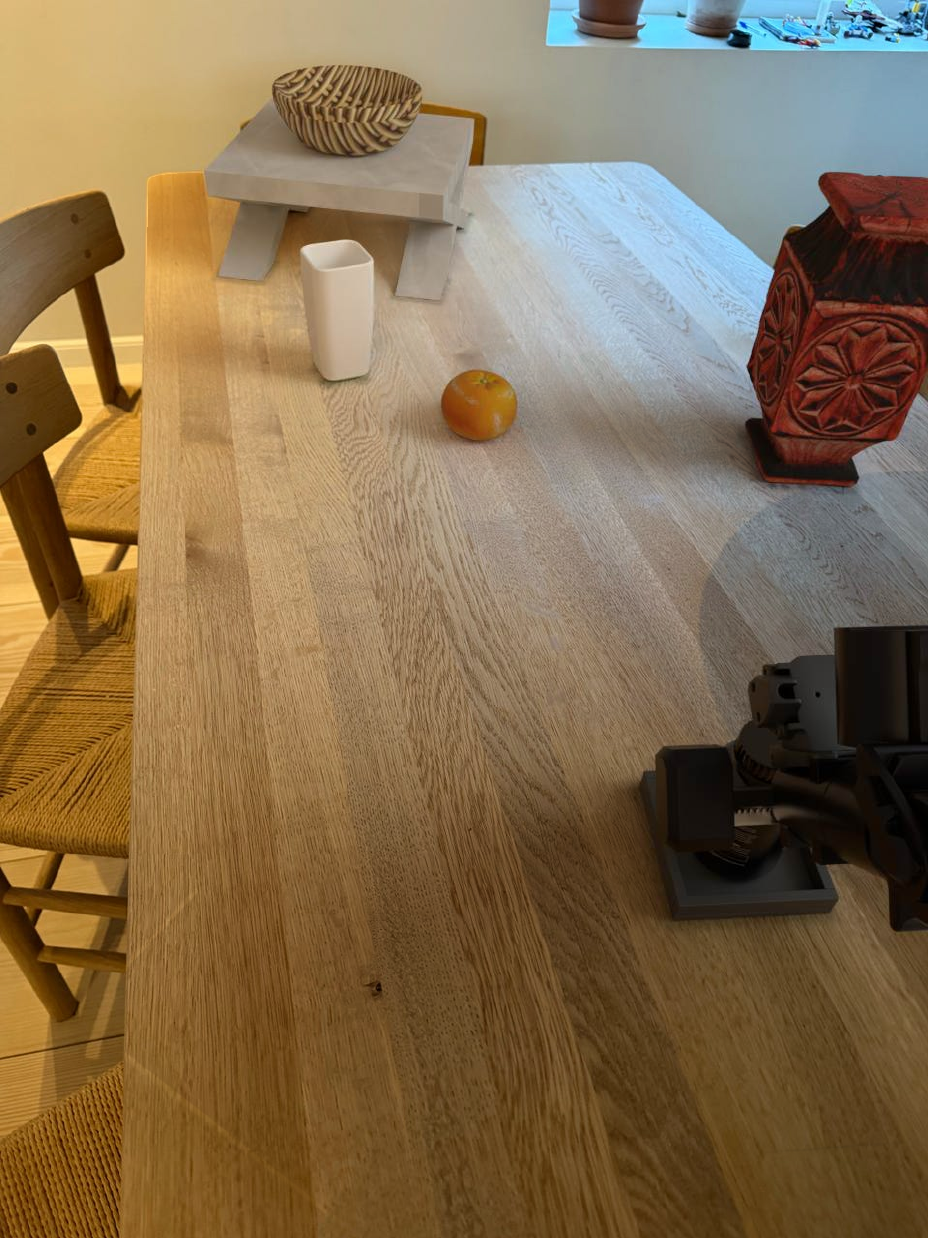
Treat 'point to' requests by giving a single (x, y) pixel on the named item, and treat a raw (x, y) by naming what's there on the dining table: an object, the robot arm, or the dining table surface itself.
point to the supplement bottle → (752, 843)
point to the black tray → (714, 897)
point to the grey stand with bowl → (346, 168)
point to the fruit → (479, 405)
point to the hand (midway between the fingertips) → (754, 772)
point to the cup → (339, 307)
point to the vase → (842, 330)
